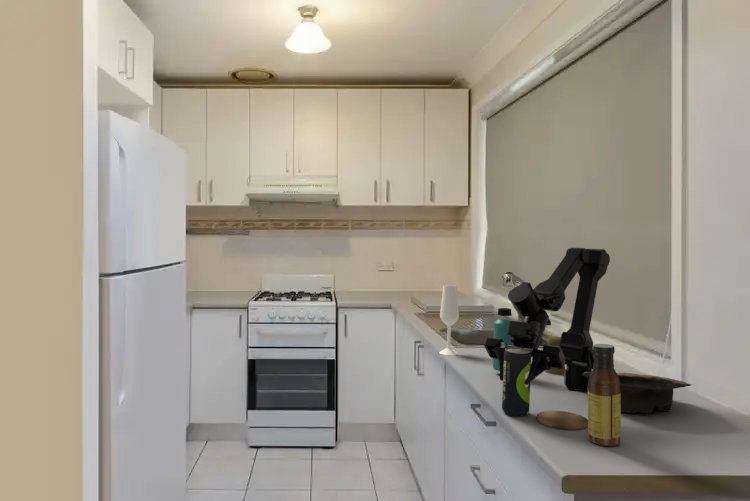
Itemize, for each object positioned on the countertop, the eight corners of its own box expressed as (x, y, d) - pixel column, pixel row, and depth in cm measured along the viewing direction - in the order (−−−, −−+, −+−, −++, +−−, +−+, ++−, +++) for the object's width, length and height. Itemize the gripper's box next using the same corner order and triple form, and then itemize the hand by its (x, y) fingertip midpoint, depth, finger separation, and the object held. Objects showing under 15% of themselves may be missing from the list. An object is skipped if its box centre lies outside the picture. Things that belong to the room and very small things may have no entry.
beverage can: (496, 409, 136) (499, 347, 135) (519, 407, 138) (522, 346, 137) (510, 418, 130) (513, 353, 129) (534, 416, 132) (536, 352, 131)
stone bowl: (627, 424, 127) (626, 382, 128) (562, 400, 151) (561, 365, 152) (716, 414, 134) (715, 375, 134) (640, 394, 158) (639, 360, 158)
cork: (563, 370, 179) (564, 335, 179) (567, 374, 173) (568, 338, 173) (543, 369, 180) (544, 334, 179) (547, 374, 174) (548, 338, 173)
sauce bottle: (612, 436, 119) (614, 342, 119) (626, 448, 113) (629, 348, 112) (581, 436, 119) (583, 342, 118) (593, 447, 113) (596, 348, 112)
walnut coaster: (583, 416, 133) (583, 412, 133) (592, 431, 122) (592, 428, 122) (534, 412, 135) (534, 409, 135) (539, 427, 124) (539, 424, 124)
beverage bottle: (508, 377, 168) (510, 310, 167) (488, 374, 172) (490, 308, 171) (518, 374, 173) (519, 308, 172) (497, 370, 177) (499, 306, 177)
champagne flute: (455, 355, 198) (457, 286, 197) (436, 353, 200) (438, 285, 200) (460, 352, 204) (461, 285, 203) (441, 350, 207) (443, 284, 206)
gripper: (487, 304, 142) (466, 355, 134) (562, 311, 131) (544, 368, 122) (500, 332, 149) (480, 382, 140) (572, 341, 137) (555, 396, 129)
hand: (513, 381), depth 133 cm, fingers closed on beverage can, 6 cm apart
